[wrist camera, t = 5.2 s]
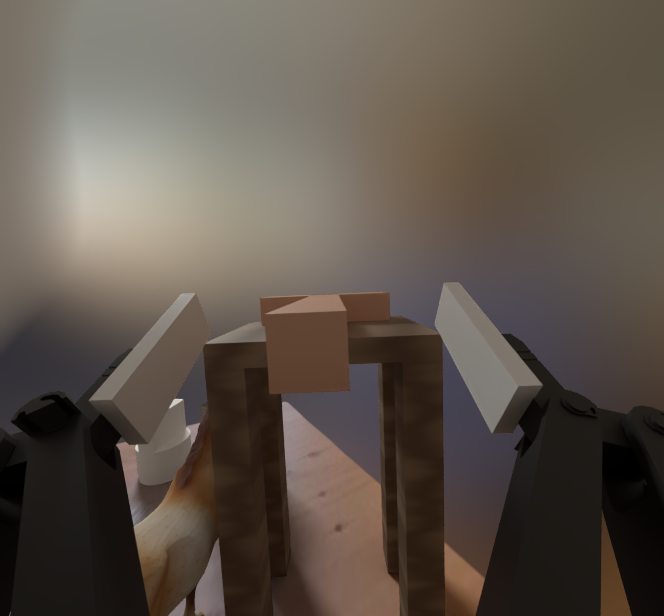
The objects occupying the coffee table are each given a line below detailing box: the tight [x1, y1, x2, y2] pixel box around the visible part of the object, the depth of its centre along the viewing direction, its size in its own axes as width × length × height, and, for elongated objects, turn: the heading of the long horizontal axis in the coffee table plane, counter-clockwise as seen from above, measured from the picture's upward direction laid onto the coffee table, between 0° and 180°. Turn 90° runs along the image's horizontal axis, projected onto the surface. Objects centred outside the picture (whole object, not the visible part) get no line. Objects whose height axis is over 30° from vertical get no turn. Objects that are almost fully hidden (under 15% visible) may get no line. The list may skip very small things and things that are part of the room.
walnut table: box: [203, 316, 445, 616], centre depth 27 cm, size 18×12×30 cm, turn 90°
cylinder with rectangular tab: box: [135, 399, 192, 486], centre depth 51 cm, size 9×9×12 cm
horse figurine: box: [134, 407, 219, 616], centre depth 21 cm, size 31×8×21 cm, turn 170°
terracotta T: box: [260, 292, 390, 394], centre depth 21 cm, size 14×22×3 cm, turn 0°
